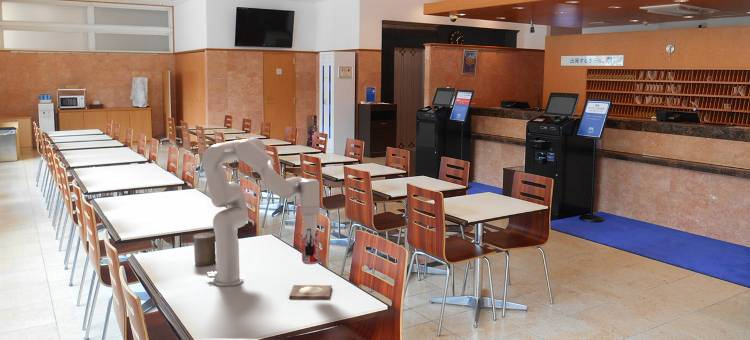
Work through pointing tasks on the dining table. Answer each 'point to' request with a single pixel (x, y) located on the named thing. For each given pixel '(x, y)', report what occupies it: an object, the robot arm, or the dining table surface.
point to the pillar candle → (204, 249)
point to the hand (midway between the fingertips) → (310, 252)
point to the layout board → (310, 292)
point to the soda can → (315, 257)
